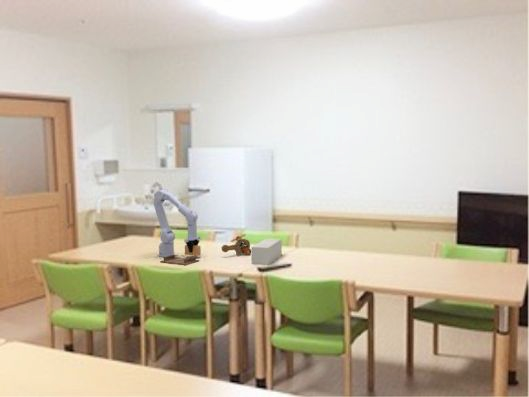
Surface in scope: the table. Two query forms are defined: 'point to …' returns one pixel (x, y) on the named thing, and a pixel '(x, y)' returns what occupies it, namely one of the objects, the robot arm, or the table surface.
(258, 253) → the grey rectangular brick
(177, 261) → the walnut cradle
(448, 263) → the table surface
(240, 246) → the brown lumpy shape
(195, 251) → the tall tan cuboid
